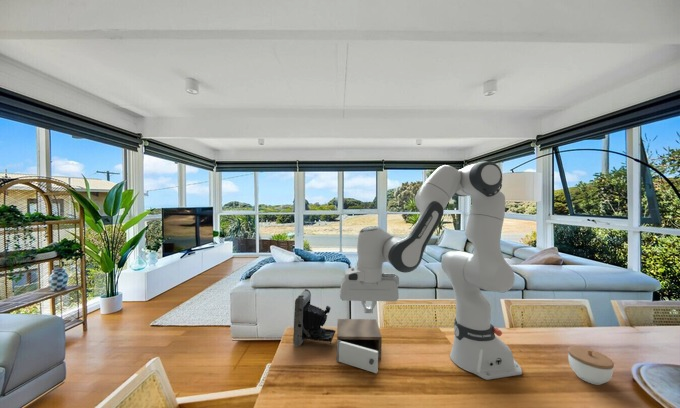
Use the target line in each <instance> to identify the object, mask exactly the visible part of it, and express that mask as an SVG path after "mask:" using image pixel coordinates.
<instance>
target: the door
mask: <svg viewBox="0 0 680 408" xmlns="http://www.w3.org/2000/svg"><path fill="white" fill-rule="evenodd" d="M336 343H337V344H336V362H337V363H342V364H345V365H347V366H352V367H355V368H358V369H361V370H365V371H367V372H371V373H374V374H378V372H379V369H378V368H379V360H378V351H376V350H372V349H369V348H365V347H362V346H358V345H354V344H351V343H347V342H344V341H341V340H336Z"/></svg>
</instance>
